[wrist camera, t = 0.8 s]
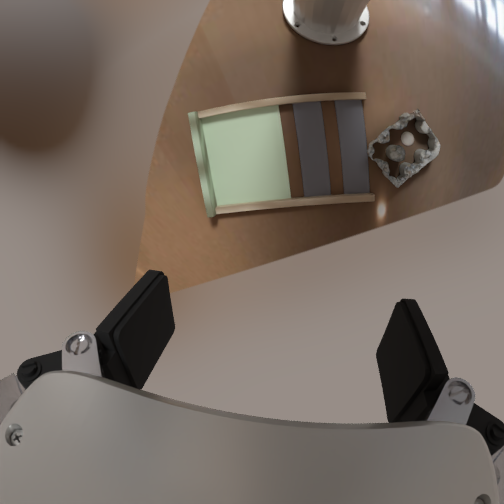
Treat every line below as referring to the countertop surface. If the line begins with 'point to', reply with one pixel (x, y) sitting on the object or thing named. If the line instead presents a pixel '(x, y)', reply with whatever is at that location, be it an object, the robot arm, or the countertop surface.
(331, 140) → the countertop surface
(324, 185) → the strips
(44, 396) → the robot arm
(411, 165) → the egg carton
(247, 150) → the pad
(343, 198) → the channel
